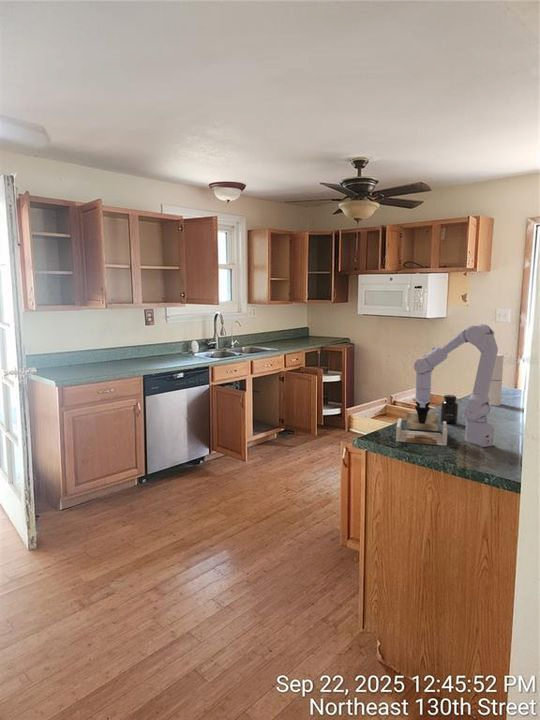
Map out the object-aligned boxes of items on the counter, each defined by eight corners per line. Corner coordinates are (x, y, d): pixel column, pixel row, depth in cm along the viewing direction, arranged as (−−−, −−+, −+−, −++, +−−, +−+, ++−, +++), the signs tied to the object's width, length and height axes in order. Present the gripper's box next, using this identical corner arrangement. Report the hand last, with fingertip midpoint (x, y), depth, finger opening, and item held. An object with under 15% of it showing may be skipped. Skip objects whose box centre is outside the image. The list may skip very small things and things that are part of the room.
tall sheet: (437, 431, 194) (438, 413, 193) (437, 433, 192) (438, 414, 191) (406, 429, 198) (407, 411, 197) (406, 430, 196) (407, 412, 195)
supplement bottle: (446, 425, 202) (448, 398, 200) (437, 421, 209) (438, 394, 207) (460, 424, 204) (462, 397, 202) (450, 420, 210) (451, 393, 209)
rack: (445, 436, 188) (446, 421, 187) (446, 447, 174) (447, 431, 174) (398, 432, 193) (398, 418, 192) (395, 442, 180) (396, 427, 179)
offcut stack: (436, 441, 179) (436, 435, 178) (436, 444, 176) (437, 438, 175) (406, 439, 182) (406, 433, 182) (405, 441, 179) (405, 435, 179)
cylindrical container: (481, 403, 242) (484, 354, 238) (491, 401, 245) (494, 353, 241) (493, 406, 235) (496, 355, 232) (503, 404, 238) (506, 354, 235)
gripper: (413, 384, 201) (412, 415, 203) (412, 391, 187) (411, 424, 189) (431, 385, 198) (430, 417, 200) (431, 392, 185) (430, 426, 187)
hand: (422, 421), depth 194 cm, fingers open, 7 cm apart
